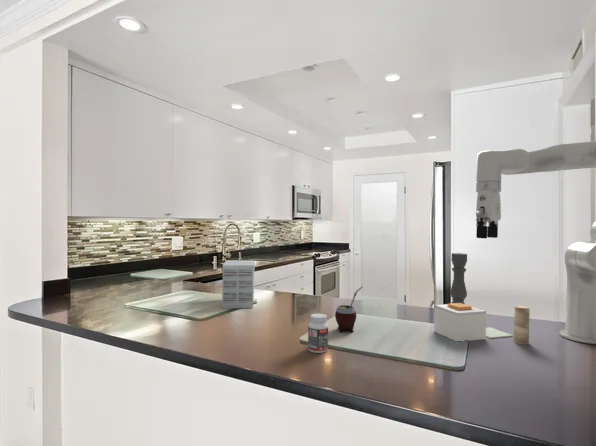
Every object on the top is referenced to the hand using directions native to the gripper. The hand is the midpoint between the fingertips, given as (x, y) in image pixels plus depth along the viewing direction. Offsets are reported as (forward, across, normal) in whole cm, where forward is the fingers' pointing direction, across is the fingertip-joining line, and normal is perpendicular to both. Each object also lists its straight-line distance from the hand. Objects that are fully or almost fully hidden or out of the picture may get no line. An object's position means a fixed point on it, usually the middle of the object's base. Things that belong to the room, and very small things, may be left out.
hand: (487, 237), depth 124 cm
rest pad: (+32, 0, -2) cm, 32 cm away
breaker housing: (+32, -11, +4) cm, 34 cm away
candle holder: (+32, +12, +14) cm, 37 cm away
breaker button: (+25, -11, +4) cm, 28 cm away
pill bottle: (+32, -56, +25) cm, 70 cm away
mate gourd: (+32, -35, +32) cm, 57 cm away
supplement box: (+33, -42, +87) cm, 102 cm away
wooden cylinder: (+32, -3, -12) cm, 34 cm away
